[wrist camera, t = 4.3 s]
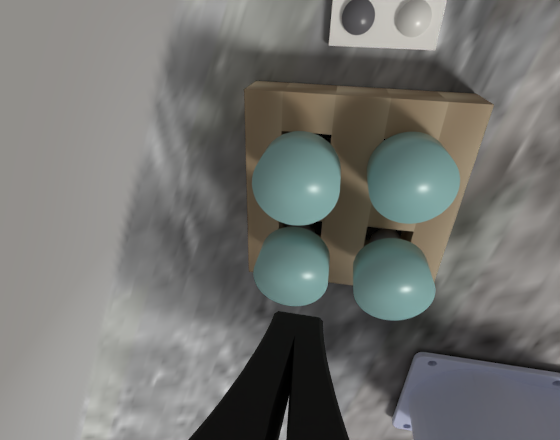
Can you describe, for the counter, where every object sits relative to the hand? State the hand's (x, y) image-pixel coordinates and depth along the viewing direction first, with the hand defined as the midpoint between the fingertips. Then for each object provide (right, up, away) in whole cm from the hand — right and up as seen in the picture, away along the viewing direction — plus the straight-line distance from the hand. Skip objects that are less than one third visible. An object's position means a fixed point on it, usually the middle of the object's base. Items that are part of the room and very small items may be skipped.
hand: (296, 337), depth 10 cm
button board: (+3, +5, +6) cm, 9 cm away
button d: (+1, +6, +4) cm, 8 cm away
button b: (0, +3, +6) cm, 7 cm away
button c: (+5, +6, +4) cm, 9 cm away
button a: (+4, +3, +6) cm, 8 cm away
